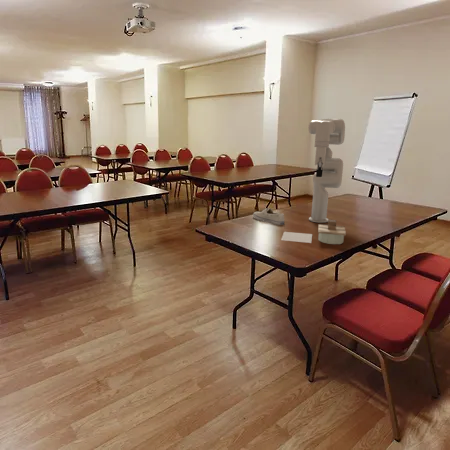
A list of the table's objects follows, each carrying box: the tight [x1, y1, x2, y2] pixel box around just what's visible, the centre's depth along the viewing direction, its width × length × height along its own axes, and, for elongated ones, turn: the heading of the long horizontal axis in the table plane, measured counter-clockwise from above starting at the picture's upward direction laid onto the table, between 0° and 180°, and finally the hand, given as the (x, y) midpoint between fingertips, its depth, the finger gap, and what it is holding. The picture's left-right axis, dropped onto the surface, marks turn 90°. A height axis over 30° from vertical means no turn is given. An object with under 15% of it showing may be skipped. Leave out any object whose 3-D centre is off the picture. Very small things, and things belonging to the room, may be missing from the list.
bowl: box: [318, 233, 345, 245], centre depth 200 cm, size 13×13×6 cm
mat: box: [280, 231, 313, 244], centre depth 205 cm, size 16×16×1 cm
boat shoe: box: [252, 207, 285, 226], centre depth 239 cm, size 25×9×9 cm, turn 38°
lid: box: [317, 219, 347, 236], centre depth 199 cm, size 14×14×6 cm
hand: (319, 175), depth 207 cm, fingers open, 9 cm apart
